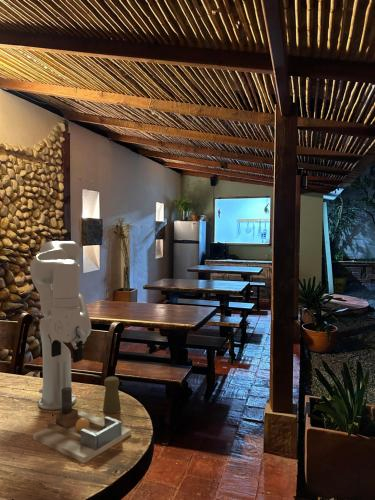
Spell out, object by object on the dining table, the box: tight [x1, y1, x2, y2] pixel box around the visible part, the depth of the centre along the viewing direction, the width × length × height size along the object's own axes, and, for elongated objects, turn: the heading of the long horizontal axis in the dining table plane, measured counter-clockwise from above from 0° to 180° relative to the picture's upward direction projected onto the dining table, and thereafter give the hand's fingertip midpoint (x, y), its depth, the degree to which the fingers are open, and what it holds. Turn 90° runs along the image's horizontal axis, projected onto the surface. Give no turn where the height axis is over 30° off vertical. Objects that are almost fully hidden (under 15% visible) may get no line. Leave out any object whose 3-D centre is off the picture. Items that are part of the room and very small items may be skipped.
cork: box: [102, 376, 122, 414], centre depth 134 cm, size 6×6×11 cm
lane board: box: [32, 410, 132, 464], centre depth 115 cm, size 22×18×3 cm
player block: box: [55, 387, 79, 429], centre depth 119 cm, size 4×5×11 cm
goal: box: [80, 416, 122, 451], centre depth 111 cm, size 6×10×4 cm, turn 146°
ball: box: [75, 418, 89, 432], centre depth 115 cm, size 4×4×4 cm
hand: (66, 358), depth 119 cm, fingers open, 9 cm apart
